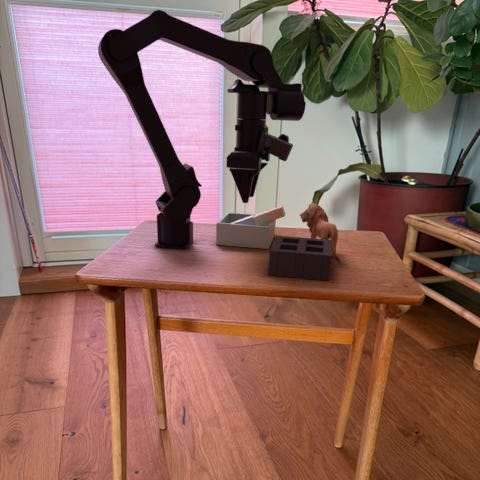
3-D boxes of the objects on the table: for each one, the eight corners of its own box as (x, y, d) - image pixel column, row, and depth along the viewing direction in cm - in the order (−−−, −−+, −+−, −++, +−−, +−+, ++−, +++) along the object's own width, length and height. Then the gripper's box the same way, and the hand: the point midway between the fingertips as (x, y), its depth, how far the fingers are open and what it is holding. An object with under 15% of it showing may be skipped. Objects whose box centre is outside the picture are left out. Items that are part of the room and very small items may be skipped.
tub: (216, 244, 96) (216, 223, 94) (226, 232, 106) (227, 212, 104) (268, 249, 94) (270, 227, 92) (274, 235, 104) (275, 215, 102)
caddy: (268, 275, 79) (269, 250, 78) (274, 258, 89) (276, 235, 87) (328, 281, 78) (332, 255, 76) (328, 262, 87) (331, 239, 85)
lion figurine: (294, 244, 99) (298, 202, 95) (316, 242, 100) (320, 201, 96) (328, 264, 86) (333, 217, 82) (352, 262, 88) (359, 216, 84)
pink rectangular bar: (225, 226, 99) (281, 206, 95) (227, 224, 101) (282, 204, 98) (229, 236, 100) (285, 217, 96) (231, 234, 102) (285, 214, 99)
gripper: (288, 122, 80) (281, 211, 87) (295, 120, 97) (289, 195, 104) (226, 119, 82) (225, 207, 89) (244, 118, 99) (241, 191, 105)
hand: (248, 199), depth 97 cm, fingers open, 7 cm apart
